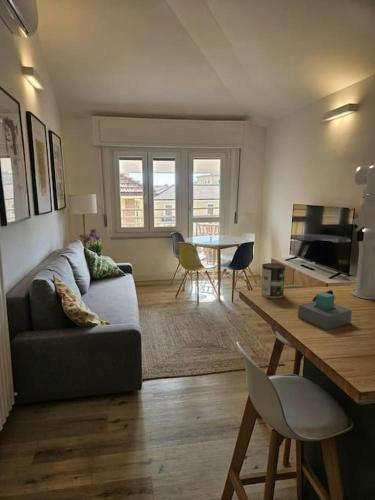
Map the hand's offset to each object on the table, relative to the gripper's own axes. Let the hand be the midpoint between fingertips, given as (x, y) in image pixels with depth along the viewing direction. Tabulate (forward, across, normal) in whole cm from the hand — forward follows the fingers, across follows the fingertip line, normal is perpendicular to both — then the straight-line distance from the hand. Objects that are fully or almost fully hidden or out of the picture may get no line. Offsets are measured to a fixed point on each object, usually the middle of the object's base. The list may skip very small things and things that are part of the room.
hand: (371, 243), depth 125 cm
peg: (+28, -1, -23) cm, 36 cm away
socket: (+28, -1, -23) cm, 36 cm away
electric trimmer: (+28, -17, -3) cm, 34 cm away
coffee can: (+28, -32, -20) cm, 47 cm away
